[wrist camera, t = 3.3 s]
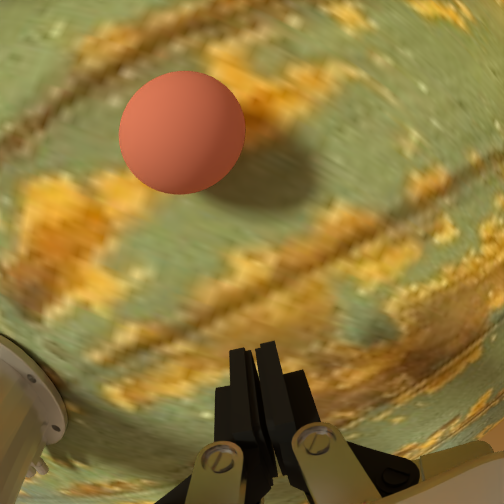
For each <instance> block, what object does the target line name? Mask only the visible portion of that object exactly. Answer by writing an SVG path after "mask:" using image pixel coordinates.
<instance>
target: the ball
mask: <svg viewBox="0 0 504 504" xmlns="http://www.w3.org/2000/svg"><path fill="white" fill-rule="evenodd" d="M244 139H245V120H244V115H243V112H242V109H241V106H240V104H239V103H238V101H237V99H236V98H235V96H234V95H233V93H232V92H231V91H230V90H229V89H228V88H227V87H226V86H225V85H223V84H222V83H221V82H220V81H218V80H216V79H214V78H213V77H211V76H208V75H206V74H202V73H199V72H193V71H177V72H171V73H167V74H164V75H161V76H159V77H156V78H155V79H153V80H151V81H149V82H148V83H146V84H145V85H144V86H142V87H141V88H140V89H139V90H138V91H137V92H136V93H135V94H134V96H133V97H132V98H131V99H130V101H129V103H128V104H127V106H126V108H125V110H124V112H123V115H122V118H121V122H120V128H119V143H120V148H121V153H122V155H123V158H124V160H125V162H126V164H127V166H128V167H129V169H130V170H131V172H132V173H133V174H134V175H135V176H136V177H137V178H138V179H139V180H140V181H142V182H143V183H144V184H146V185H147V186H149V187H151V188H153V189H155V190H158V191H161V192H164V193H169V194H190V193H195V192H199V191H201V190H204V189H207V188H208V187H210V186H212V185H214V184H216V183H217V182H218V181H220V180H221V179H222V178H223V177H224V176H226V175H227V174H228V173H229V171H230V170H231V169H232V168H233V166H234V165H235V163H236V162H237V160H238V158H239V156H240V154H241V151H242V148H243V145H244Z"/></svg>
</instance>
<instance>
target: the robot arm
mask: <svg viewBox="0 0 504 504" xmlns="http://www.w3.org/2000/svg"><path fill="white" fill-rule="evenodd" d="M260 347H261V348H257V349H255V351H256V358H257V365H258V372H259V377H258V373H257V370H256V366H255V363H254V359H253V356H252V352H251V350H248V351H245V348H239V349H234V350H230V351H229V357H230V386H224V387H218V388H216V390H215V423H214V443H211V444H208V445H207V446H205V447H204V448H203V449H202V450H201V451H200V452H199V453H198V455H197V457H196V460H195V464H194V468H193V473H192V474H191V475H190V476H189V477H188V478H186V479H185V480H184V481H183V482H182V483H180V484H179V485H178V486H177V487H175V488H174V489H173V490H171V491H170V492H169V493H168V494H166V495H165V496H164V497H162V498H161V499H160V500H158V501H157V502H156V503H154V504H264V502H265V501H264V496H265V495H266V493H267V492H268V491H269V490H270V489H271V486H273V479H272V478H273V477H278V473H277V467H276V461H275V455H274V451H275V454H276V457H277V460H278V463H279V466H280V469H281V472H282V475H283V476H284V475H288V479H289V482H290V485H292V486H294V487H296V488H298V489H300V490H302V491H303V493H304V495H305V498H306V500H307V502H308V504H504V451H500V452H495V453H494V451H493V449H492V447H491V446H490V445H489V444H488V443H486V442H484V441H479V440H478V441H472V442H469V443H466V444H463V445H459V446H456V447H453V448H449V449H446V450H442V451H439V452H435V453H431V454H427V455H423V456H420V459H416V460H412V461H411V460H408V459H406V458H402V457H398V456H395V455H391V454H387V453H384V452H380V451H377V450H373V449H370V448H367V447H363V446H360V445H357V444H354V443H351V442H348V441H346V440H345V439H344V437H343V436H342V434H341V432H340V431H339V430H338V429H337V428H336V427H335V426H333V425H331V424H330V423H325V422H321V421H320V418H319V415H318V412H317V409H316V406H315V403H314V400H313V397H312V394H311V391H310V388H309V385H308V382H307V379H306V376H305V373H304V371H303V370H299V371H295V372H291V373H287V374H283V373H282V369H281V365H280V361H279V357H278V353H277V349H276V345H275V341H271V342H267V343H262V344H260ZM259 379H260V380H259ZM67 425H68V415H67V411H66V408H65V405H64V403H63V400H62V398H61V396H60V394H59V392H58V391H57V389H56V388H55V386H54V384H53V383H52V382H51V380H50V379H49V378H48V376H47V375H46V374H45V372H44V371H43V370H42V369H41V368H40V367H39V366H38V365H37V364H36V362H35V361H34V360H33V359H32V358H31V357H29V356H28V355H27V354H26V353H25V352H24V351H23V350H22V349H20V348H19V347H18V346H16V345H15V344H14V343H13V342H11V341H10V340H8V339H6V338H5V337H3V336H1V335H0V504H15V502H16V499H17V497H18V494H19V492H20V489H21V487H22V484H23V482H24V479H25V477H32V476H34V475H35V473H36V470H37V472H38V473H39V474H42V475H44V474H46V473H47V472H48V471H49V468H48V466H47V465H46V463H45V462H44V460H43V459H42V458H41V457H40V456H41V454H42V451H43V449H44V447H45V445H51V444H54V443H57V442H58V441H59V440H61V439H62V437H63V435H64V433H65V431H66V428H67ZM273 448H274V449H273Z"/></svg>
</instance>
